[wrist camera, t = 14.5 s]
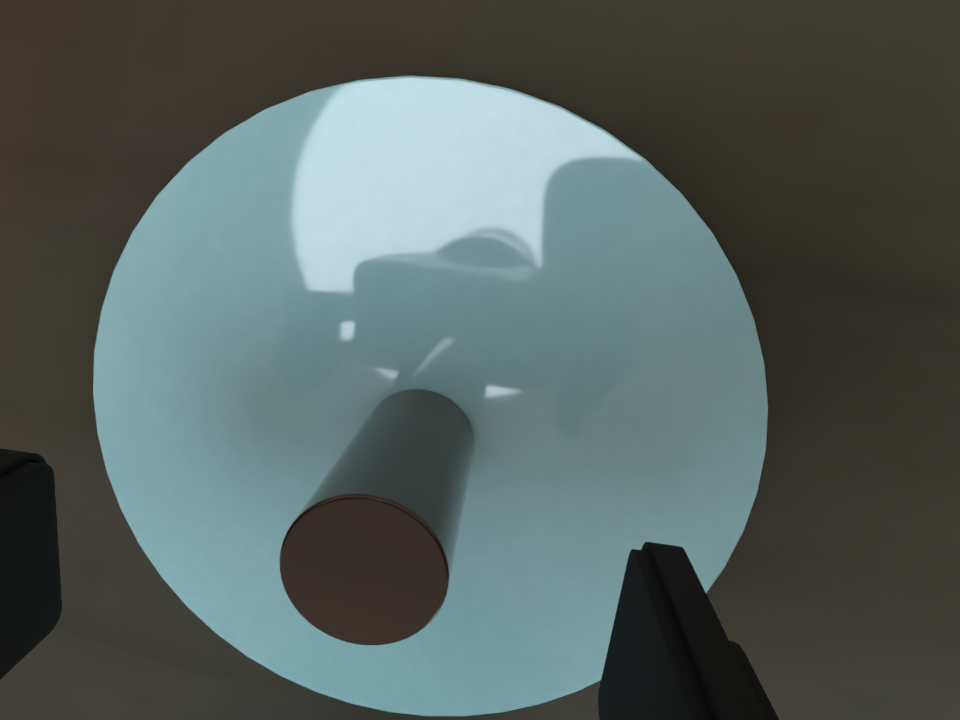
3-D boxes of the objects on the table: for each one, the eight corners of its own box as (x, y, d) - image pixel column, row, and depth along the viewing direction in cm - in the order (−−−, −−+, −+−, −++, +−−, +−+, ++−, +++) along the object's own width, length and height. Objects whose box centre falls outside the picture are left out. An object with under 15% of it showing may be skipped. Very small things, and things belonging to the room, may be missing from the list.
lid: (833, 134, 14) (1103, 79, 7) (674, 728, 18) (755, 1015, 12) (109, 40, 14) (-225, -86, 8) (127, 639, 19) (-78, 868, 12)
